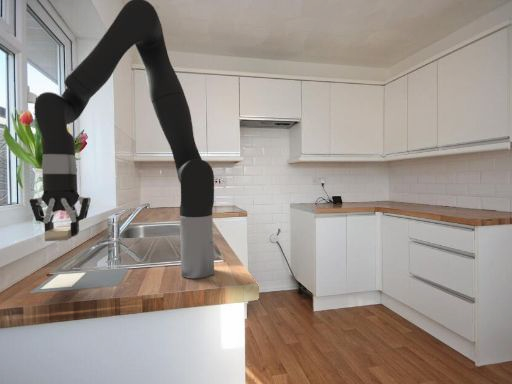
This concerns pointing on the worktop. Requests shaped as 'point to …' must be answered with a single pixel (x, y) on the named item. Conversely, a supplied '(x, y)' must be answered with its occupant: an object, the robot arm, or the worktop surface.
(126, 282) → the worktop surface
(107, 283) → the rubber mat
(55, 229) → the birch tile
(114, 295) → the worktop surface
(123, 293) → the worktop surface
